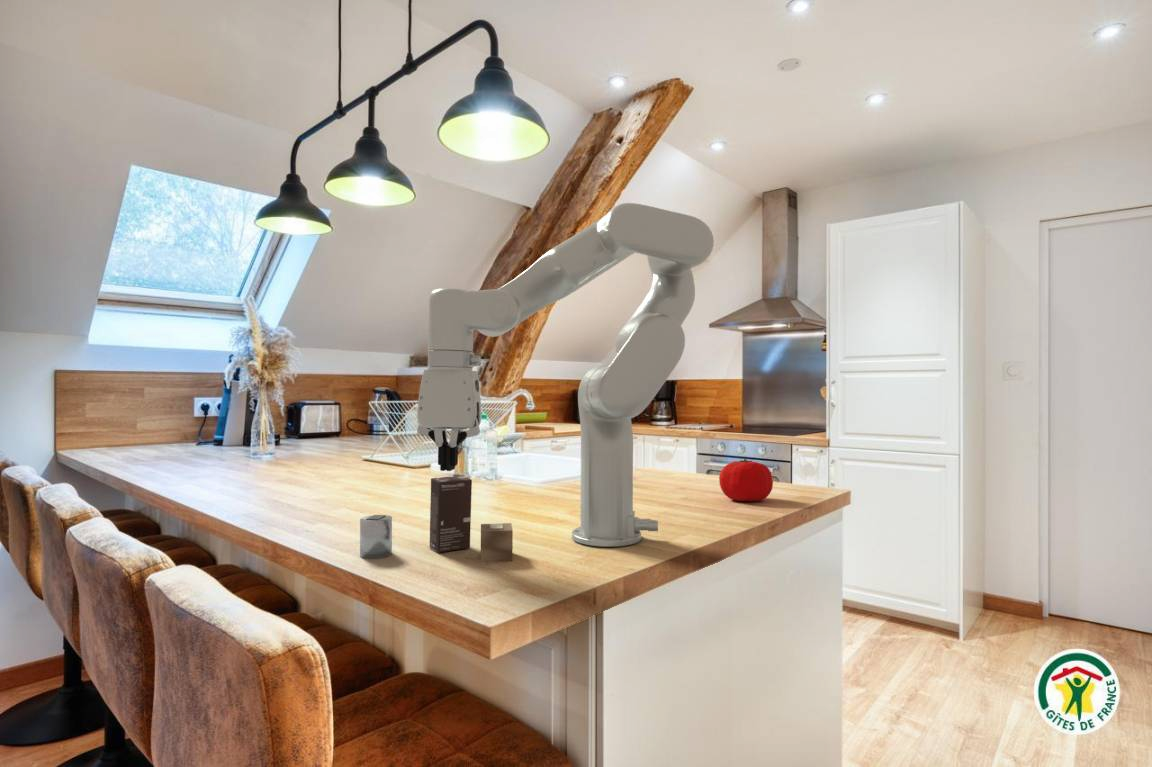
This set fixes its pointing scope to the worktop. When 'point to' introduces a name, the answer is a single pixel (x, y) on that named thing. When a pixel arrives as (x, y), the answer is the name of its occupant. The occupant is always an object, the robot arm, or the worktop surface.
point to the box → (450, 513)
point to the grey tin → (375, 536)
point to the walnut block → (496, 542)
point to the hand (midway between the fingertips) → (447, 469)
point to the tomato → (746, 481)
